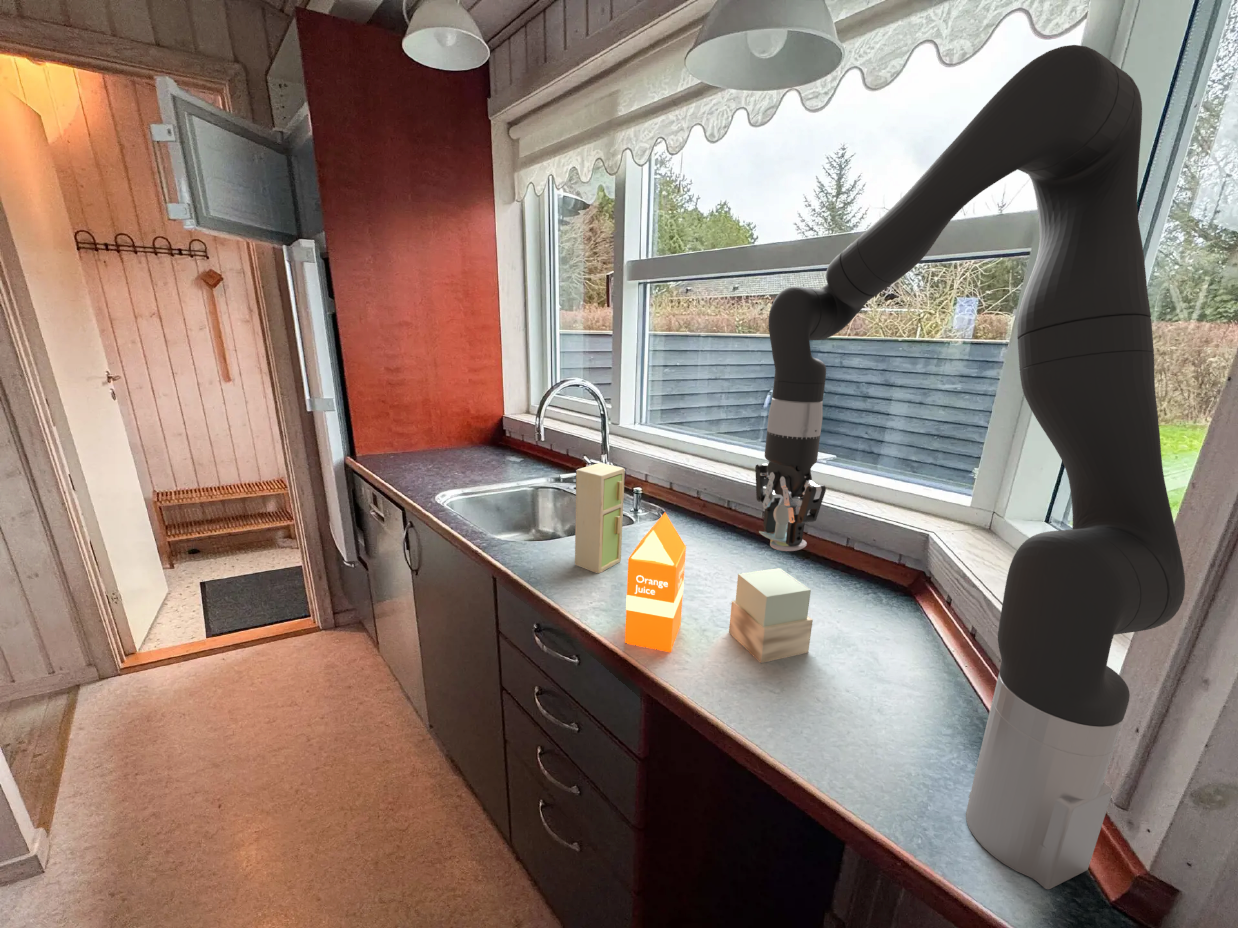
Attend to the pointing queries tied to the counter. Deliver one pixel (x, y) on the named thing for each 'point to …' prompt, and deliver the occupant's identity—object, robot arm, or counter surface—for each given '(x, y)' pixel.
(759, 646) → the maple block
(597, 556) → the toy refrigerator
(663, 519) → the orange juice
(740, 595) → the sage block
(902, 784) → the counter surface
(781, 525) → the pacifier
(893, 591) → the counter surface
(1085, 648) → the robot arm
